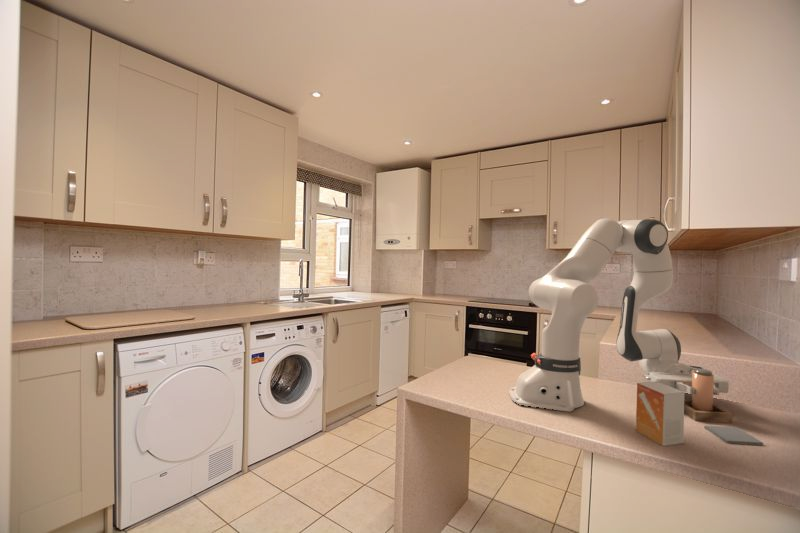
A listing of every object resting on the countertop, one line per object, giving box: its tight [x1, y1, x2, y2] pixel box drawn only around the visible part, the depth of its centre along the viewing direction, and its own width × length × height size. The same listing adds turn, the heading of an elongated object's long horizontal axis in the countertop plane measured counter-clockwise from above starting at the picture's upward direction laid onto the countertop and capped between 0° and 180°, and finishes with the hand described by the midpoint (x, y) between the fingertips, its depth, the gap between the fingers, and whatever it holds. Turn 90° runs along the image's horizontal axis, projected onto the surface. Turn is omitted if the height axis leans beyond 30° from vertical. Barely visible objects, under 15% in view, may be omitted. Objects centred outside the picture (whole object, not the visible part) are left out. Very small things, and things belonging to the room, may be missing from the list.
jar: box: [691, 369, 714, 412], centre depth 107 cm, size 5×5×13 cm
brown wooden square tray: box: [684, 399, 733, 423], centre depth 107 cm, size 9×9×2 cm
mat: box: [704, 425, 764, 446], centre depth 94 cm, size 8×8×1 cm
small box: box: [635, 381, 686, 447], centre depth 93 cm, size 8×6×13 cm
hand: (704, 391), depth 106 cm, fingers closed on jar, 5 cm apart
